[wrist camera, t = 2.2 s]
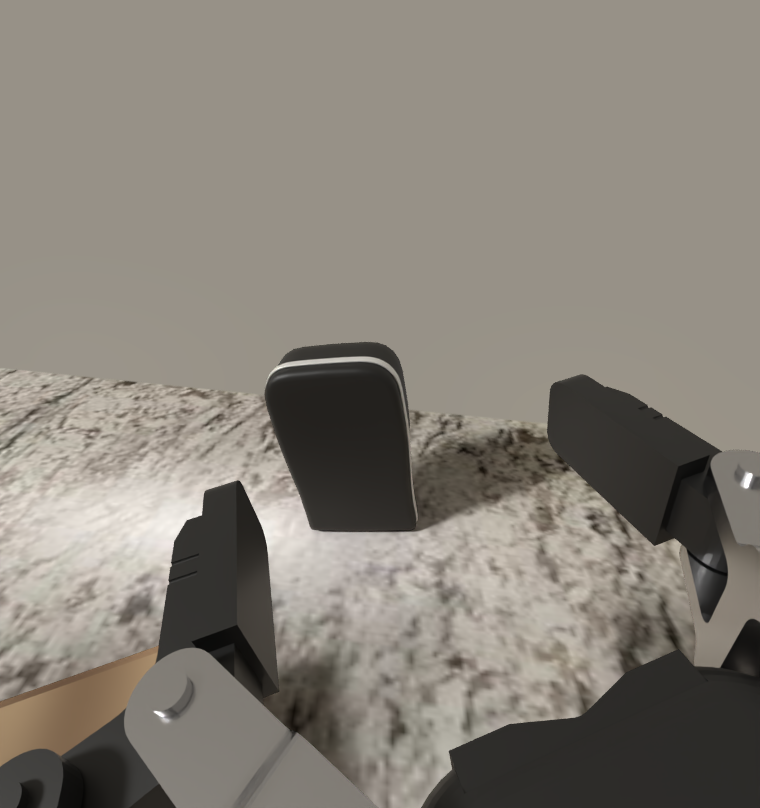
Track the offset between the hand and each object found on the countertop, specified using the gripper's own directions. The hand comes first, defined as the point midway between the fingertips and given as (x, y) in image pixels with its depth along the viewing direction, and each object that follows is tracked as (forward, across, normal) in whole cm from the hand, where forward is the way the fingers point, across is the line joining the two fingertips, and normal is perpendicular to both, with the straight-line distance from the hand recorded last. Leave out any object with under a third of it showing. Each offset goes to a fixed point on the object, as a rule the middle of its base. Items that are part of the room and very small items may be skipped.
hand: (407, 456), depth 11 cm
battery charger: (+12, 0, +14) cm, 18 cm away
